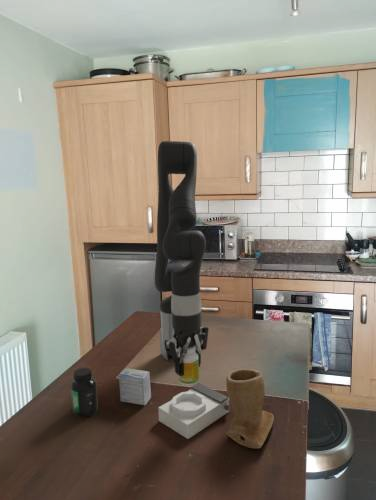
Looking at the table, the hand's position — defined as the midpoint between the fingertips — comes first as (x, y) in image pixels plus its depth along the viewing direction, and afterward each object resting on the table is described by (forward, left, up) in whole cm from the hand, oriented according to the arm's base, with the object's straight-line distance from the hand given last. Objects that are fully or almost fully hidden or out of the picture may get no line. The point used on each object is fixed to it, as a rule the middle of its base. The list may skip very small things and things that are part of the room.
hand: (188, 370), depth 111 cm
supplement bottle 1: (-24, -17, -15) cm, 33 cm away
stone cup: (+14, +7, -15) cm, 21 cm away
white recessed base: (0, +2, -14) cm, 14 cm away
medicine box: (-18, -4, -15) cm, 24 cm away
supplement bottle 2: (0, 0, -3) cm, 3 cm away
